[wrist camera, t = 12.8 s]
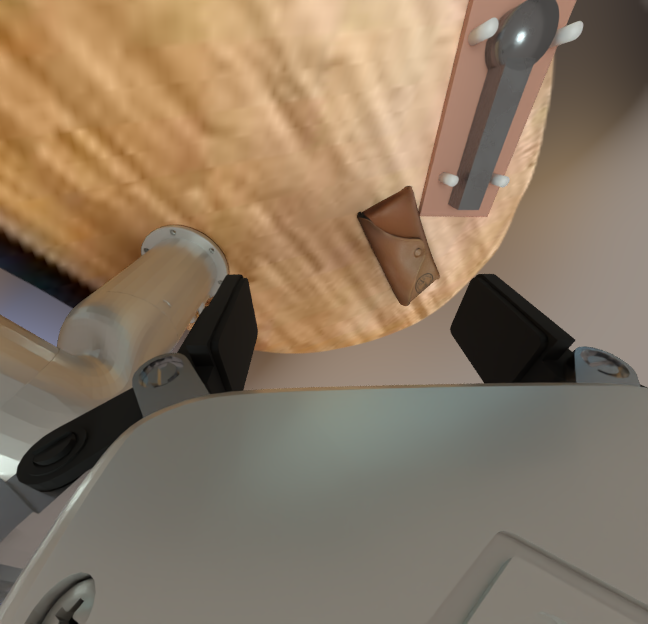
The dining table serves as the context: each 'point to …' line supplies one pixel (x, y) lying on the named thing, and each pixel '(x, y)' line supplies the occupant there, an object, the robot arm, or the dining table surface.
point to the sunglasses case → (400, 244)
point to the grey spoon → (502, 93)
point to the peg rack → (463, 98)
